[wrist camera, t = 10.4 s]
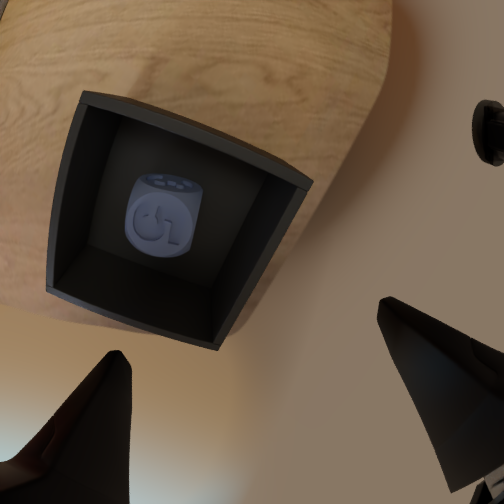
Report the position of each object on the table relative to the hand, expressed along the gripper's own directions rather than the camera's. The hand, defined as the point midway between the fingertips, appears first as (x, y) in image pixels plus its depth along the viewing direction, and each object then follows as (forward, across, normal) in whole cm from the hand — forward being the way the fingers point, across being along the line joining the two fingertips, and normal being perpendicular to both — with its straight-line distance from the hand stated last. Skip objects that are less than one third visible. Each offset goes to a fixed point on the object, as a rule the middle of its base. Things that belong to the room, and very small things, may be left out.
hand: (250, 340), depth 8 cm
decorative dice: (+12, +4, -2) cm, 13 cm away
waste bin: (+12, +4, -2) cm, 13 cm away
